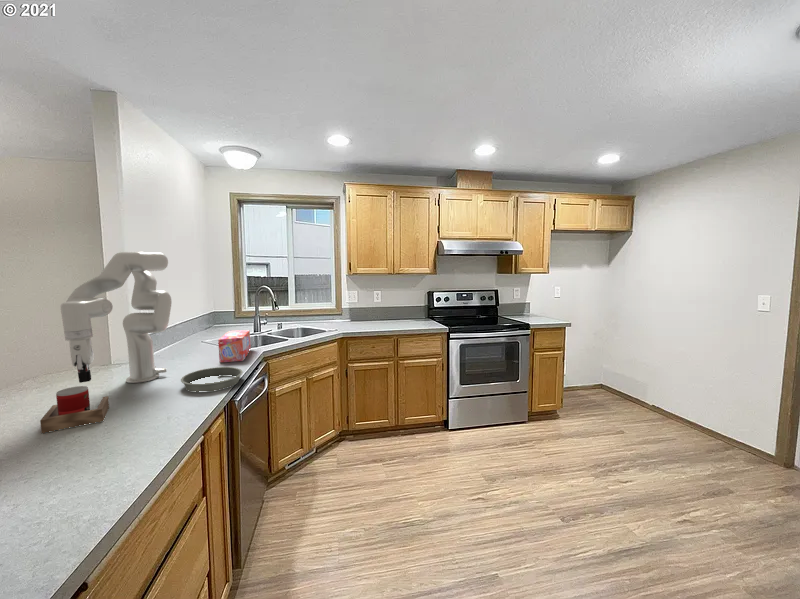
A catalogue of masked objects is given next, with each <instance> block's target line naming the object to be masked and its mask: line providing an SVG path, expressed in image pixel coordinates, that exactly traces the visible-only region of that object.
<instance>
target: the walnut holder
mask: <svg viewBox="0 0 800 599" xmlns="http://www.w3.org/2000/svg"><path fill="white" fill-rule="evenodd" d="M108 409H110V399H109V395H108V396H107V395H106V396H102V398H101V400H100V402H99V404H98V406H97V408H95V409H90V410H87V411H82V412H76V413H70V414H65V415H58V407H57V404H53V405H52V406H51V407H50V408H49V409H48V410H47V412H46V413H45V414H44V415H43V417H42V418H41V419H40V420H39V422H40V429H41V431H40V432H41V434H42V433H43V434H46V433H45V432H48V433H50V432H49V431H53V432H55V431H54V430H58V431H60V430H59V429H64V428H69V427H74V428H76V427H75V426H79V425H84V424H89V423H94V424H96V423H95V422H99V423H102V422H101V421H103V420H104V421H105V419H106V417H107V414H108V412H109V410H108ZM105 416H106V417H105ZM104 418H105V419H104ZM104 421H103V422H104ZM89 425H90V424H89ZM84 426H85V425H84ZM79 427H80V426H79ZM69 429H70V428H69ZM64 430H65V429H64Z"/></svg>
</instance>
